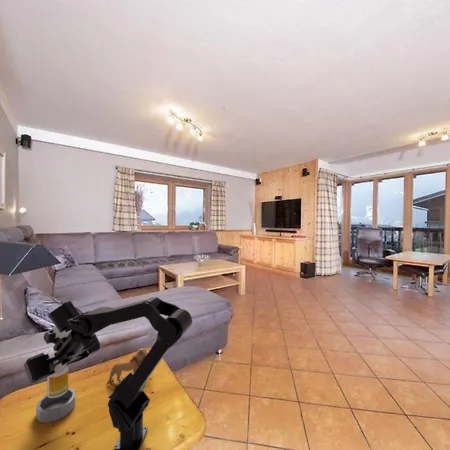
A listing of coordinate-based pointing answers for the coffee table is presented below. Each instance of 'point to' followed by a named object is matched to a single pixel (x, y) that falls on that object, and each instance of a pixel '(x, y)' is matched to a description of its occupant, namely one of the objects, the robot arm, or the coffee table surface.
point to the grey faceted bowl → (55, 407)
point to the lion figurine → (128, 365)
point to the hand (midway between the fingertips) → (55, 368)
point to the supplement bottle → (58, 381)
